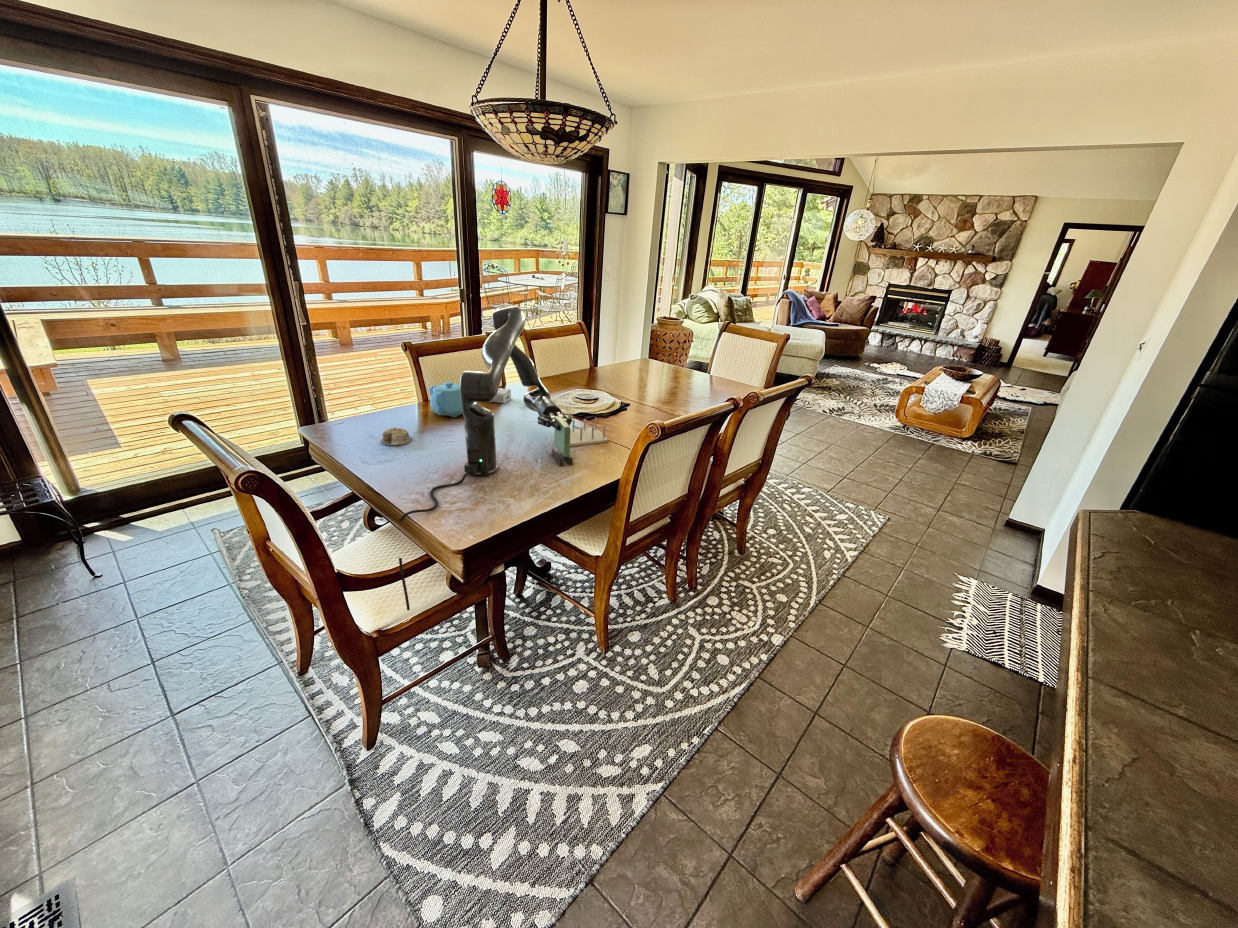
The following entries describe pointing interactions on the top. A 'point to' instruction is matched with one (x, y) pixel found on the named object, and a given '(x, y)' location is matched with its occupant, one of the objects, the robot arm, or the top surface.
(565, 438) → the lid
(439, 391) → the decorative pot
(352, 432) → the top surface
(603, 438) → the dish rack
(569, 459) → the pair of dark bars
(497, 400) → the charger
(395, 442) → the cake
